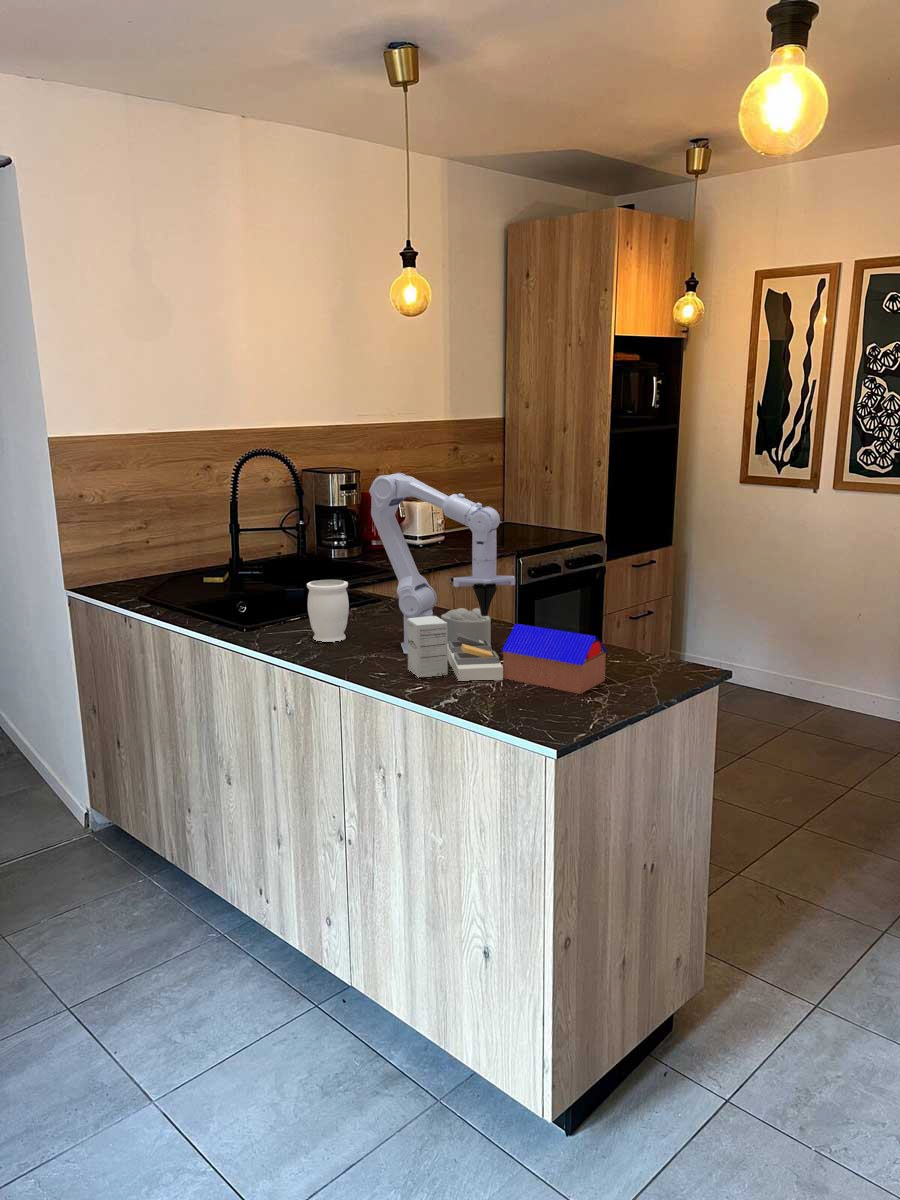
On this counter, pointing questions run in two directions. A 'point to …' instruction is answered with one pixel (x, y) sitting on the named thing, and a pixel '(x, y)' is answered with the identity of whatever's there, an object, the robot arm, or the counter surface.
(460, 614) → the lumpy-topped squat cylinder
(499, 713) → the counter surface
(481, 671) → the cream switch panel
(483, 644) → the charcoal rocker
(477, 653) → the amber rocker
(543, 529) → the counter surface
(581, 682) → the house
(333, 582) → the jar
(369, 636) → the counter surface
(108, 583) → the counter surface
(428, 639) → the supplement box
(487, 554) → the robot arm
